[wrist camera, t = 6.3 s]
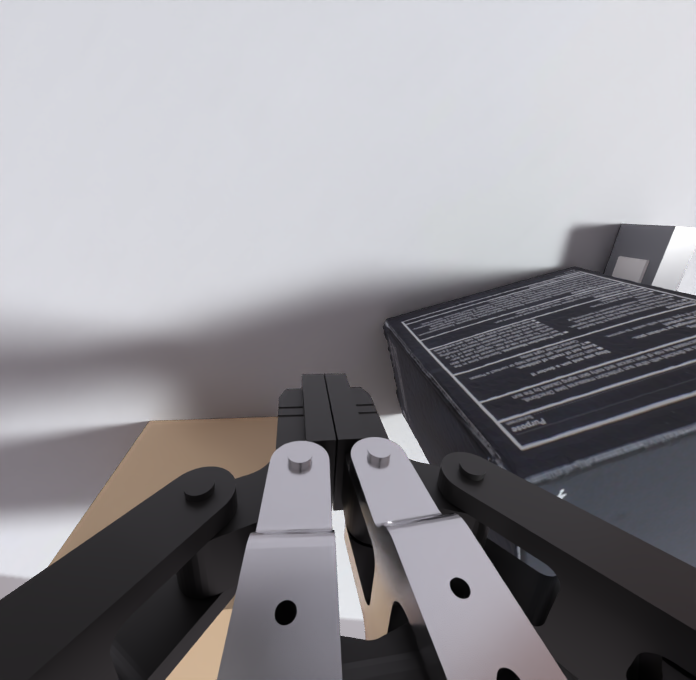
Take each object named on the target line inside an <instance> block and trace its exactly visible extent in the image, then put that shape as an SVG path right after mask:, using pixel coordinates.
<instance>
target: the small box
mask: <svg viewBox="0 0 696 680" xmlns="http://www.w3.org/2000/svg"><path fill="white" fill-rule="evenodd" d="M383 329H384V334H385V337H386V339H387V341H388V345H389V347H388V350H389V352H390V356H391V360H392V366H393V371H394V379H395V381H396V386H397V391H396V393H397V397H398V400H399V403H400V406H401V409H402V414H403V416H404V418H405V419H406V421H407V423H408V424H409V427H410V428H411V430H412V432H413V434H414V436H415V438H416V439H417V441H418V443H419V445H420V447H421V448H422V450H423V452H424V454H425V456H426V458H427V460H428V462H429V463H430V464H431V465H436V466H441V462H442V460H443V458H444V457H445V456H446V455H448V454H450V453H454V452H466V453H471V454H474V455H477V456H480V457H482V458H484V459H486V460H488V461H490V462H492V463H494V464H495V465H497V466H499V467H501V468H503V469H505V470H507V471H509V472H511V473H513V474H515V475H517V476H519V477H521V478H523V479H525V480H526V481H528V482H530V483H532V484H534V485H536V486H538V487H540V488H542V489H544V490H546V491H548V492H550V493H552V494H554V495H556V496H557V497H559V498H561V499H563V500H565V501H567V502H569V503H571V504H573V505H575V506H577V507H579V508H581V509H583V510H585V511H587V512H588V513H590V514H592V515H594V516H596V517H598V518H600V519H602V520H604V521H606V522H608V523H610V524H612V525H614V526H616V527H618V528H620V529H621V530H623V531H625V532H627V533H629V534H631V535H633V536H635V537H637V538H639V539H641V540H643V541H645V542H647V543H649V544H651V545H652V546H654V547H656V548H658V549H660V550H662V551H664V552H666V553H668V554H670V555H672V556H674V557H676V558H678V559H680V560H682V561H683V562H685V563H687V564H689V565H691V566H693V567H695V568H696V296H695V295H691V294H686V293H682V292H678V291H673V290H669V289H664V288H661V287H656V286H652V285H648V284H642V283H637V282H634V281H630V280H626V279H621V278H616V277H613V276H609V275H605V274H601V273H598V272H593V271H589V270H585V269H582V268H579V267H571V268H568V269H565V270H561V271H557V272H554V273H550V274H546V275H543V276H539V277H535V278H532V279H528V280H524V281H521V282H517V283H513V284H510V285H507V286H503V287H499V288H495V289H492V290H489V291H485V292H482V293H478V294H474V295H471V296H467V297H463V298H460V299H456V300H453V301H449V302H446V303H442V304H439V305H435V306H431V307H428V308H424V309H421V310H417V311H414V312H410V313H408V314H404V315H400V316H397V317H394V318H389V319H386V321H385V323H384V326H383ZM487 538H488V539H490V540H491V541H493V542H494V543H496V544H497V545H499V546H500V547H502V548H503V549H505V550H506V551H508V552H509V553H511V554H512V555H514V556H515V557H517V558H518V559H520V560H521V561H523V562H524V563H526V564H527V565H529V566H530V567H532V568H533V569H535V570H536V571H538V572H540V573H541V574H544V575H546V576H556V574H555V573H554V571H553V570H552V569H551V568H550V567H548V566H547V565H546V564H545V563H543V562H542V561H540V560H538V559H537V558H535V557H534V556H532V555H531V554H529V553H528V552H526V551H524V550H523V549H521V548H520V547H518V546H517V545H515V544H514V543H512V542H510V541H509V540H507V539H506V538H504V537H503V536H501V535H500V534H498V533H496V532H495V531H493V530H492V529H489V532H488V536H487Z"/></svg>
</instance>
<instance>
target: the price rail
mask: <svg viewBox="0 0 696 680" xmlns="http://www.w3.org/2000/svg"><path fill="white" fill-rule="evenodd" d="M695 249H696V228H693V227H679V226H659V225H637V224H621V227H620V230H619V232H618V235H617V238H616V241H615V244H614V247H613V249H612V252H611V255H610V258H609V261H608V264H607V266H606V269H605V272H604V274H605V275H609V276H613V277H616V278H621V279H626V280H630V281H634V282H637V283H642V284H648V285H652V286H656V287H661V288H664V289H669V290H673V291H677V289H678V287H679V285H680V282H681V280H682V278H683V276H684V273H685V271H686V269H687V267H688V264H689V262H690V260H691V258H692V255H693V253H694V251H695Z"/></svg>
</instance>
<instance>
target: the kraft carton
mask: <svg viewBox="0 0 696 680" xmlns="http://www.w3.org/2000/svg"><path fill="white" fill-rule="evenodd" d="M277 423H278V417H253V418H223V419H193V420H162V421H149V422H148V424H147V425H146V427H145V428H144V430H143V431H142V433H141V434H140V435H139V437H138V438H137V440H136V441H135V443H134V444H133V445H132V447H131V448H130V450H129V451H128V453H127V454H126V456H125V457H124V458H123V460H122V461H121V463H120V464H119V466H118V467H117V468H116V470H115V471H114V473H113V474H112V476H111V477H110V479H109V480H108V481H107V483H106V484H105V486H104V487H103V489H102V490H101V491H100V493H99V494H98V496H97V497H96V499H95V500H94V501H93V503H92V504H91V506H90V507H89V509H88V510H87V512H86V513H85V514H84V516H83V517H82V519H81V520H80V522H79V523H78V524H77V526H76V527H75V529H74V530H73V532H72V533H71V535H70V536H69V537H68V539H67V540H66V542H65V543H64V545H63V546H62V547H61V549H60V550H59V552H58V553H57V555H56V556H55V558H54V559H53V560H52V562H51V563H50V565H52V564H53V563H55V562H56V561H57V560H59V559H60V558H62V557H63V556H65V555H66V554H68V553H69V552H70V551H72V550H73V549H75V548H76V547H78V546H79V545H81V544H82V543H84V542H85V541H86V540H88V539H89V538H91V537H92V536H94V535H95V534H97V533H98V532H99V531H101V530H102V529H104V528H105V527H107V526H108V525H110V524H111V523H112V522H114V521H115V520H117V519H118V518H120V517H121V516H123V515H124V514H126V513H127V512H128V511H130V510H131V509H133V508H134V507H136V506H137V505H139V504H140V503H141V502H143V501H144V500H146V499H147V498H149V497H150V496H152V495H153V494H154V493H156V492H157V491H159V490H160V489H162V488H163V487H165V486H166V485H167V484H169V483H170V482H172V481H173V480H175V479H176V478H178V477H179V476H181V475H182V474H184V473H186V472H188V471H191V470H193V469H197V468H201V467H207V466H214V467H220V468H224V469H226V470H228V471H229V472H231V474H232V475H233V476H234V478H235V479H236V478H239V477H242V476H245V475H249V474H251V473H254V472H256V471H258V470H260V469H261V468H263V467H264V466H266V465H267V464H268V463H269V462H270V459H271V456H272V455H273V453H274V452H275V450H276V438H277ZM50 565H49V566H50ZM49 566H48V567H49ZM235 595H236V594H235ZM235 595H234V597H233V598H232V599H231V601H230V602H229V603H228V604H227V605H226V607H225V608H224V609H223V610H222V611H221V613H220V614H219V615H218V616H217V618H216V619H215V620H214V621H213V622H212V624H211V625H210V626H209V627H208V628H207V630H206V631H205V632H204V633H203V635H202V636H201V637H200V638H199V639H198V641H197V642H196V643H195V644H194V645H193V647H192V648H191V649H190V650H189V652H188V653H187V654H186V655H185V656H184V658H183V659H182V660H181V661H180V662H179V664H178V665H177V666H176V667H175V669H174V670H173V671H172V672H171V673H170V675H169V676H168V677H167V678H166V679H165V680H216V679H217V676H218V672H219V667H220V663H221V658H222V654H223V649H224V645H225V640H226V636H227V631H228V626H229V622H230V617H231V613H232V608H233V604H234V599H235Z"/></svg>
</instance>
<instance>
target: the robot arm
mask: <svg viewBox="0 0 696 680" xmlns="http://www.w3.org/2000/svg"><path fill="white" fill-rule="evenodd" d="M332 503H333V510H334V511H335V510H344V516H345V529H344V538H345V543H346V547H347V551H348V555H349V560H350V564H351V568H352V572H353V576H354V580H355V584H356V588H357V592H358V596H359V601H360V605H361V609H362V613H363V618H364V625H365V637H366V640H363V639H356V638H351V637H344V636H340V622H339V602H338V582H337V562H336V542H335V532H334V530H332V512H331V511H332ZM489 529H492V530H493V531H495V532H496V533H498V534H500V535H501V536H503V537H504V538H506V539H507V540H509V541H510V542H512V543H514V544H515V545H517V546H518V547H520V548H521V549H523V550H524V551H526V552H528V553H529V554H531V555H532V556H534V557H535V558H537V559H538V560H540V561H542V562H543V563H545V564H546V565H547V566H548V567H550V568H551V569H552V570H553V571H554V573H555V574H556V576H546V575H544V574H541V573H540V572H538V571H536V570H535V569H533V568H532V567H530V566H529V565H527V564H526V563H524V562H523V561H521V560H520V559H518V558H517V557H515V556H514V555H512V554H511V553H509V552H508V551H506V550H505V549H503V548H502V547H500V546H499V545H497V544H496V543H494V542H493V541H491V540H490V539H488V538H487V536H488V532H489ZM235 594H236V595H235ZM234 595H235V599H234V604H233V608H232V613H231V617H230V622H229V626H228V631H227V636H226V640H225V645H224V649H223V654H222V658H221V663H220V667H219V672H218V676H217V679H216V680H696V568H695V567H693V566H691V565H689V564H687V563H685V562H683V561H682V560H680V559H678V558H676V557H674V556H672V555H670V554H668V553H666V552H664V551H662V550H660V549H658V548H656V547H654V546H652V545H651V544H649V543H647V542H645V541H643V540H641V539H639V538H637V537H635V536H633V535H631V534H629V533H627V532H625V531H623V530H621V529H620V528H618V527H616V526H614V525H612V524H610V523H608V522H606V521H604V520H602V519H600V518H598V517H596V516H594V515H592V514H590V513H588V512H587V511H585V510H583V509H581V508H579V507H577V506H575V505H573V504H571V503H569V502H567V501H565V500H563V499H561V498H559V497H557V496H556V495H554V494H552V493H550V492H548V491H546V490H544V489H542V488H540V487H538V486H536V485H534V484H532V483H530V482H528V481H526V480H525V479H523V478H521V477H519V476H517V475H515V474H513V473H511V472H509V471H507V470H505V469H503V468H501V467H499V466H497V465H495V464H494V463H492V462H490V461H488V460H486V459H484V458H482V457H480V456H477V455H474V454H471V453H466V452H454V453H450V454H448V455H446V456H445V457H444V458H443V460H442V462H441V466H436V465H431V464H425V463H420V462H416V461H413V460H410V459H409V458H408V457H407V455H406V453H405V452H404V450H403V449H402V448H401V447H400V446H399V445H398V444H396V443H395V442H393V441H391V440H389V438H388V436H387V434H386V431H385V429H384V427H383V424H382V422H381V420H380V417H379V415H378V414H377V410H376V408H375V406H374V403H373V401H372V399H371V396H370V395H369V394H368V393H367V392H366V391H365V390H363V389H362V388H361V387H350V386H349V383H348V380H347V377H346V374H345V373H343V374H324V375H323V374H302V389H286V390H285V391H284V392H283V394H282V395H281V396H280V397H279V409H278V423H277V438H276V450H275V452H274V453H273V455H272V456H271V459H270V462H269V463H268V464H267V465H266V466H264V467H263V468H261V469H260V470H258V471H256V472H254V473H251V474H249V475H245V476H242V477H239V478H236V479H235V478H234V476H233V475H232V474H231V472H229V471H228V470H226V469H224V468H220V467H214V466H207V467H201V468H197V469H193V470H191V471H188V472H186V473H184V474H182V475H181V476H179V477H178V478H176V479H175V480H173V481H172V482H170V483H169V484H167V485H166V486H165V487H163V488H162V489H160V490H159V491H157V492H156V493H154V494H153V495H152V496H150V497H149V498H147V499H146V500H144V501H143V502H141V503H140V504H139V505H137V506H136V507H134V508H133V509H131V510H130V511H128V512H127V513H126V514H124V515H123V516H121V517H120V518H118V519H117V520H115V521H114V522H112V523H111V524H110V525H108V526H107V527H105V528H104V529H102V530H101V531H99V532H98V533H97V534H95V535H94V536H92V537H91V538H89V539H88V540H86V541H85V542H84V543H82V544H81V545H79V546H78V547H76V548H75V549H73V550H72V551H70V552H69V553H68V554H66V555H65V556H63V557H62V558H60V559H59V560H57V561H56V562H55V563H53V564H52V565H50V566H49V567H47V568H46V569H44V570H43V571H42V572H40V573H39V574H37V575H36V576H34V577H33V578H31V579H30V580H29V581H27V582H26V583H24V584H23V585H21V586H20V587H18V588H17V589H16V590H14V591H13V592H11V593H10V594H8V595H7V596H5V597H4V598H2V599H1V600H0V680H165V679H166V678H167V677H168V676H169V675H170V673H171V672H172V671H173V670H174V669H175V667H176V666H177V665H178V664H179V662H180V661H181V660H182V659H183V658H184V656H185V655H186V654H187V653H188V652H189V650H190V649H191V648H192V647H193V645H194V644H195V643H196V642H197V641H198V639H199V638H200V637H201V636H202V635H203V633H204V632H205V631H206V630H207V628H208V627H209V626H210V625H211V624H212V622H213V621H214V620H215V619H216V618H217V616H218V615H219V614H220V613H221V611H222V610H223V609H224V608H225V607H226V605H227V604H228V603H229V602H230V601H231V599H232V598H233V597H234Z"/></svg>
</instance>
